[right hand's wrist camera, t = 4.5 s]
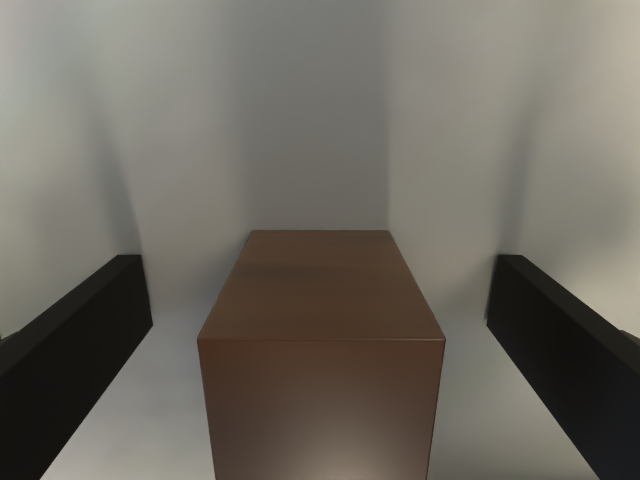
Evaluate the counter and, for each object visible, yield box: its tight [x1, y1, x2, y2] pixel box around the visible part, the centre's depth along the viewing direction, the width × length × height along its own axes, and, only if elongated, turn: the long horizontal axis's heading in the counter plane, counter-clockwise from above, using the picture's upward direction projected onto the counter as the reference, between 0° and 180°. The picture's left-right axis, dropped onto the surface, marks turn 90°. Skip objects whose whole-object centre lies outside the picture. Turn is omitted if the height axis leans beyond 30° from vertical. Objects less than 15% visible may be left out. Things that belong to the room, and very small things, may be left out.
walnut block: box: [197, 231, 446, 480], centre depth 10 cm, size 4×4×6 cm
